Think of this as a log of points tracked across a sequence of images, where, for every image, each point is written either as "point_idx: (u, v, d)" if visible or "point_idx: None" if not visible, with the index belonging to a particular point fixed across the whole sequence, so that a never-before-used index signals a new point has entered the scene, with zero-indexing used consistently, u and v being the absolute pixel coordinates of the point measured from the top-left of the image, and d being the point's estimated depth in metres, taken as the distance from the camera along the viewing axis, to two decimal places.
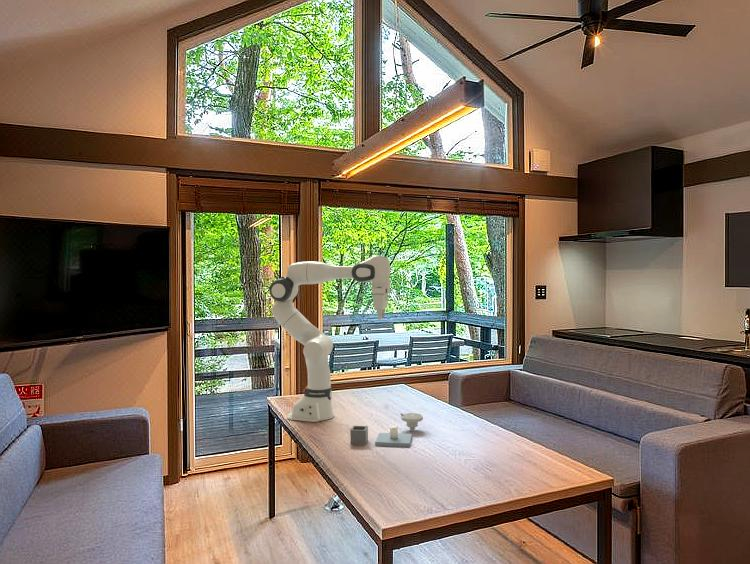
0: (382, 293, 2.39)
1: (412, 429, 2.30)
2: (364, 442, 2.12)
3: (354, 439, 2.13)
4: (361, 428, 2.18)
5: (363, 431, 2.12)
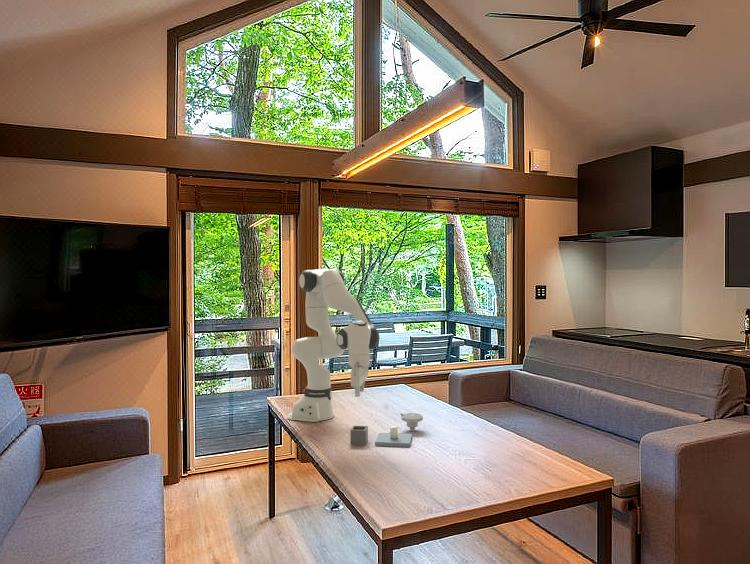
0: None
1: (412, 429, 2.30)
2: (364, 442, 2.12)
3: (354, 439, 2.13)
4: (361, 428, 2.18)
5: (363, 431, 2.12)
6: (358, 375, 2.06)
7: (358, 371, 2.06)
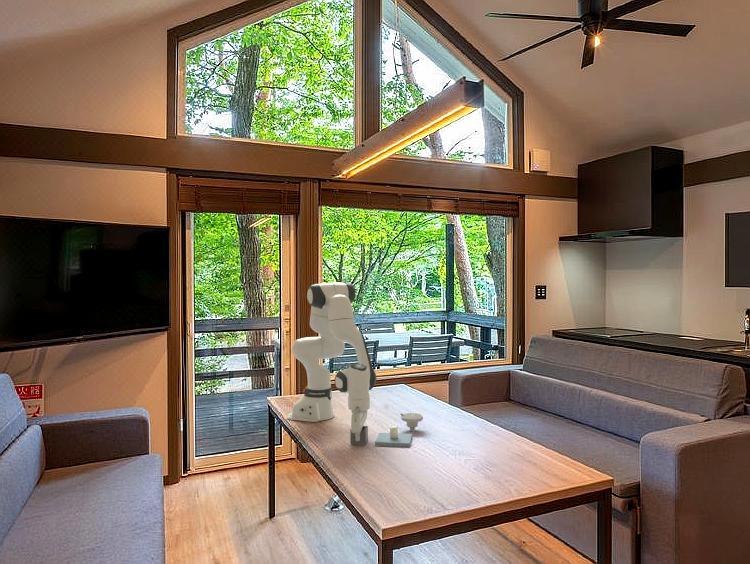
0: None
1: (412, 429, 2.30)
2: (364, 442, 2.12)
3: (354, 439, 2.13)
4: None
5: (363, 431, 2.12)
6: (358, 421, 2.06)
7: (358, 417, 2.06)
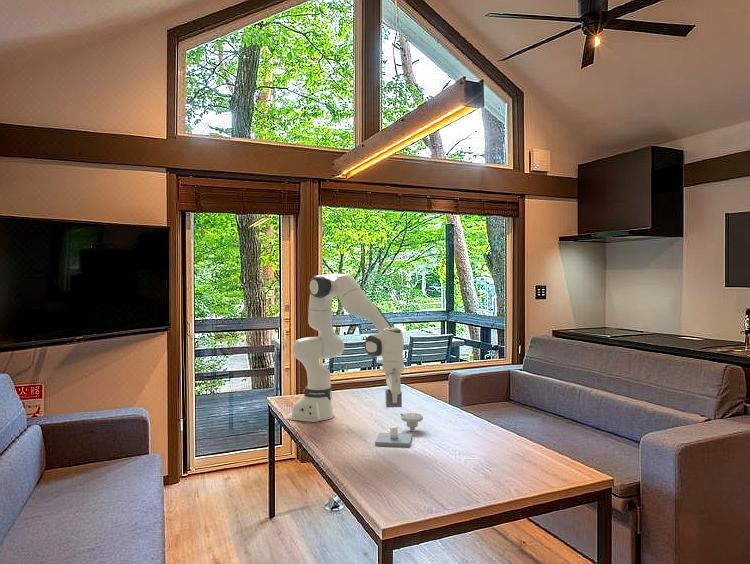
0: None
1: (412, 429, 2.30)
2: (400, 404, 2.13)
3: (390, 402, 2.13)
4: None
5: None
6: (399, 382, 2.06)
7: (399, 378, 2.07)
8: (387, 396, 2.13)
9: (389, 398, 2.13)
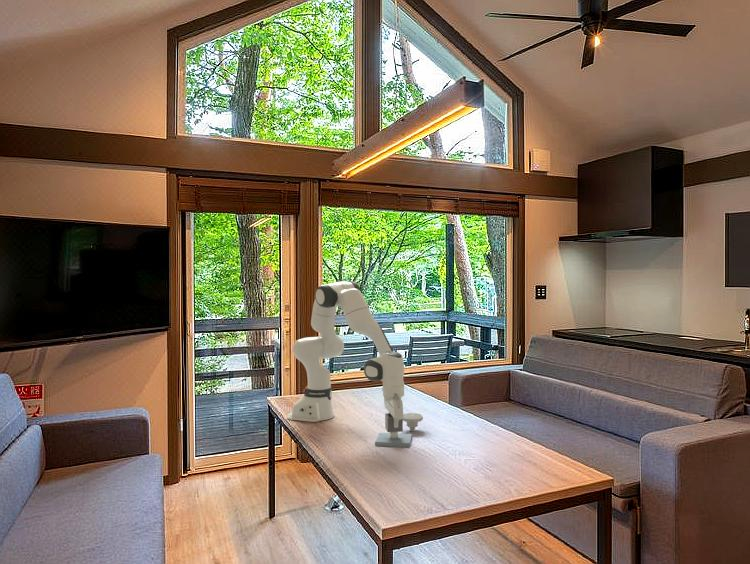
0: None
1: (412, 429, 2.30)
2: (401, 428, 2.14)
3: (391, 426, 2.13)
4: None
5: None
6: (402, 407, 2.07)
7: (401, 403, 2.07)
8: (388, 421, 2.13)
9: (390, 423, 2.13)
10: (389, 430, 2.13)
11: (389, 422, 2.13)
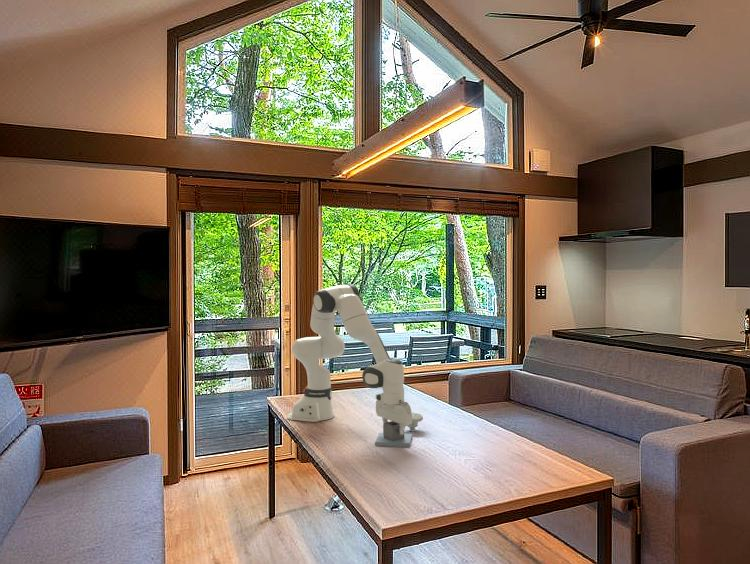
0: None
1: (412, 429, 2.30)
2: (403, 435, 2.16)
3: (395, 435, 2.13)
4: (391, 423, 2.19)
5: None
6: (411, 413, 2.09)
7: (410, 409, 2.10)
8: (393, 430, 2.12)
9: (394, 431, 2.13)
10: (393, 439, 2.13)
11: (393, 431, 2.13)
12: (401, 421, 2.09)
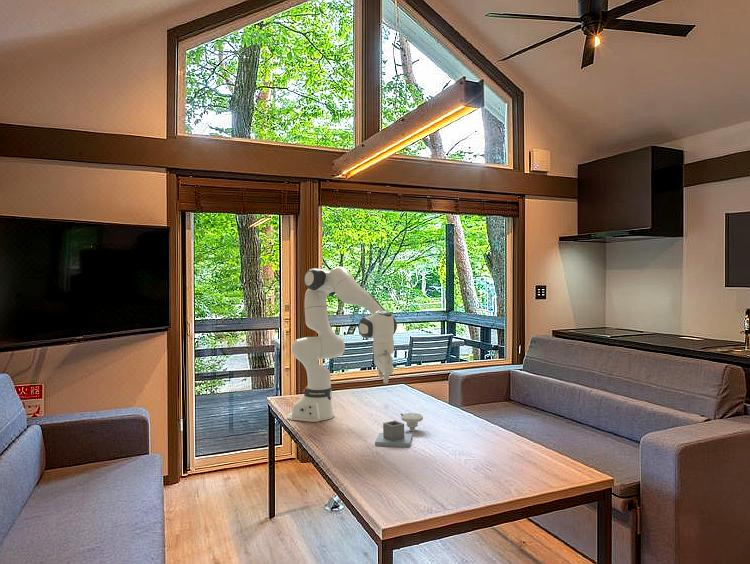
0: None
1: (412, 429, 2.30)
2: (403, 435, 2.16)
3: (395, 435, 2.13)
4: (391, 423, 2.19)
5: (402, 425, 2.15)
6: (391, 363, 2.16)
7: (391, 359, 2.16)
8: (393, 430, 2.12)
9: (394, 431, 2.13)
10: (393, 439, 2.13)
11: (393, 431, 2.13)
12: (383, 370, 2.18)
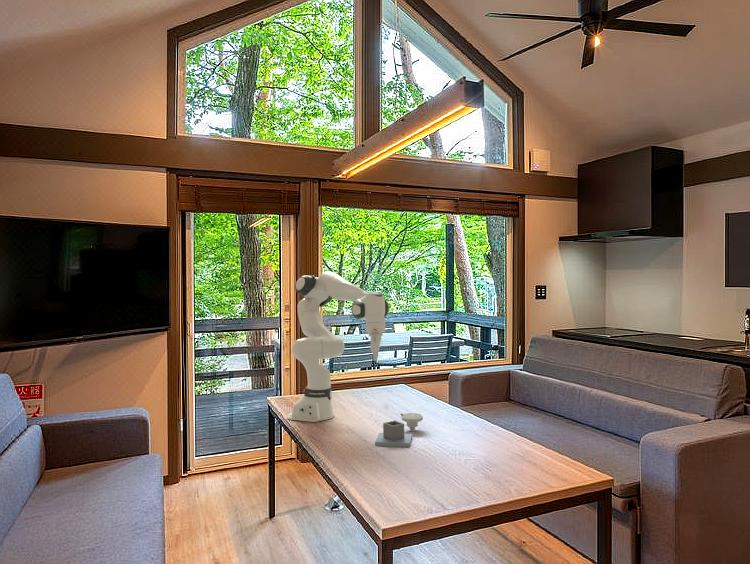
0: None
1: (412, 429, 2.30)
2: (403, 435, 2.16)
3: (395, 435, 2.13)
4: (391, 423, 2.19)
5: (402, 425, 2.15)
6: (377, 340, 2.25)
7: (377, 337, 2.26)
8: (393, 430, 2.12)
9: (394, 431, 2.13)
10: (393, 439, 2.13)
11: (393, 431, 2.13)
12: None
